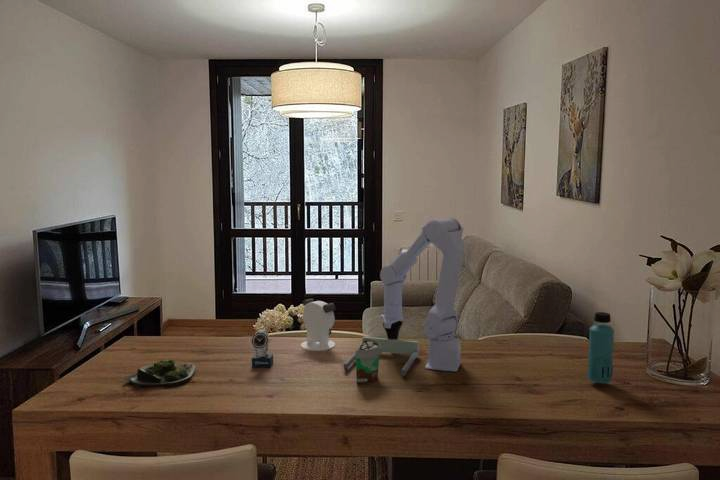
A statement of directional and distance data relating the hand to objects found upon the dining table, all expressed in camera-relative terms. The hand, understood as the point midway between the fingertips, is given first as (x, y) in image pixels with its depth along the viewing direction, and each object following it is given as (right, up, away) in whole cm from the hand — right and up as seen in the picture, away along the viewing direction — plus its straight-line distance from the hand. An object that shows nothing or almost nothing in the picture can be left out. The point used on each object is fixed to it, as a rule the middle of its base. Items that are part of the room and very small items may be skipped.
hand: (392, 344), depth 192 cm
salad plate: (-67, -6, -22) cm, 70 cm away
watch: (-40, -5, -12) cm, 42 cm away
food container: (-8, -6, -23) cm, 25 cm away
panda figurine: (-24, -2, +7) cm, 25 cm away
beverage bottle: (+55, -6, -28) cm, 62 cm away
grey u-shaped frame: (-4, -4, -12) cm, 13 cm away
